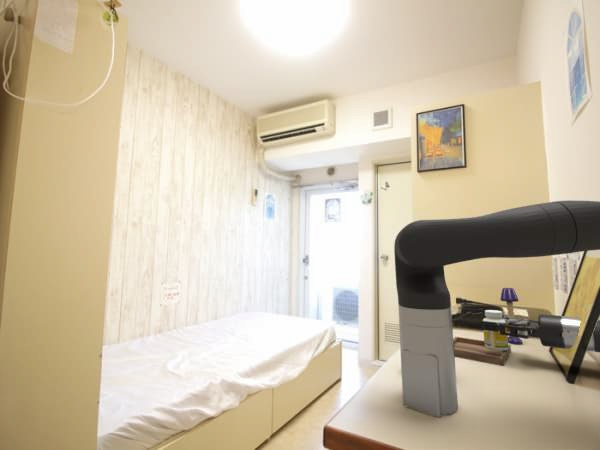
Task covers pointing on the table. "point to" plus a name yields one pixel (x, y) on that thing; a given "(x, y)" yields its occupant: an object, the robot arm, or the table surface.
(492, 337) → the supplement bottle
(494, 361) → the tray
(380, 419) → the table surface
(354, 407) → the table surface
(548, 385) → the table surface
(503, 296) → the toy lamp
